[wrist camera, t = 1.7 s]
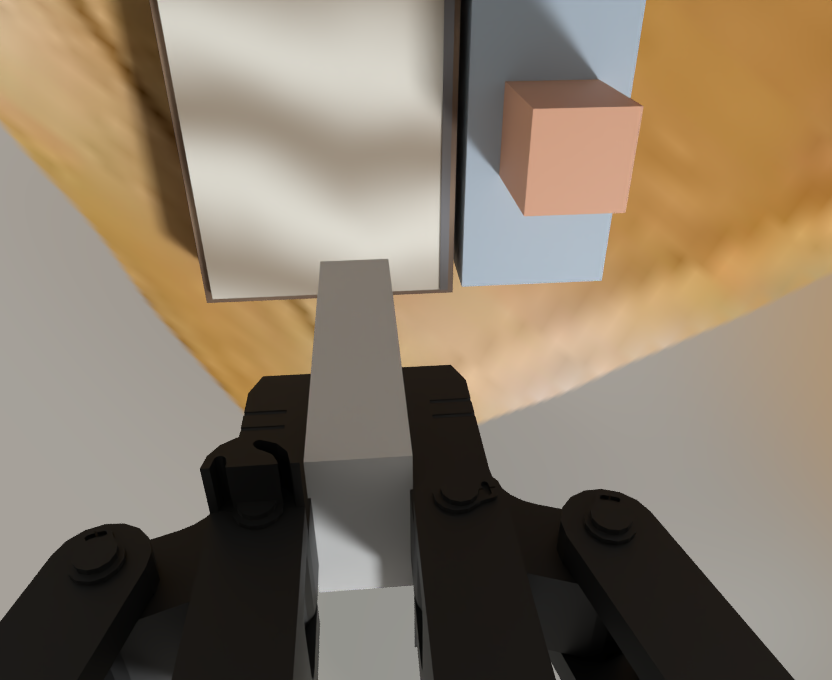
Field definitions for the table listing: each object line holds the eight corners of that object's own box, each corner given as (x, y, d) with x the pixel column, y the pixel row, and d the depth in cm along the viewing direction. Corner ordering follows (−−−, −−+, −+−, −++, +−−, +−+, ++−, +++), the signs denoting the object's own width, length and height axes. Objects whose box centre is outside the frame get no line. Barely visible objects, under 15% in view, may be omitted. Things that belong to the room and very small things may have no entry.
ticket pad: (154, -88, 27) (128, -90, 24) (452, -89, 28) (465, -91, 24) (217, 273, 35) (205, 307, 32) (444, 264, 36) (453, 296, 33)
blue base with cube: (461, -74, 28) (501, -75, 21) (626, -75, 28) (720, -76, 21) (452, 257, 36) (478, 340, 28) (581, 252, 36) (638, 332, 29)
